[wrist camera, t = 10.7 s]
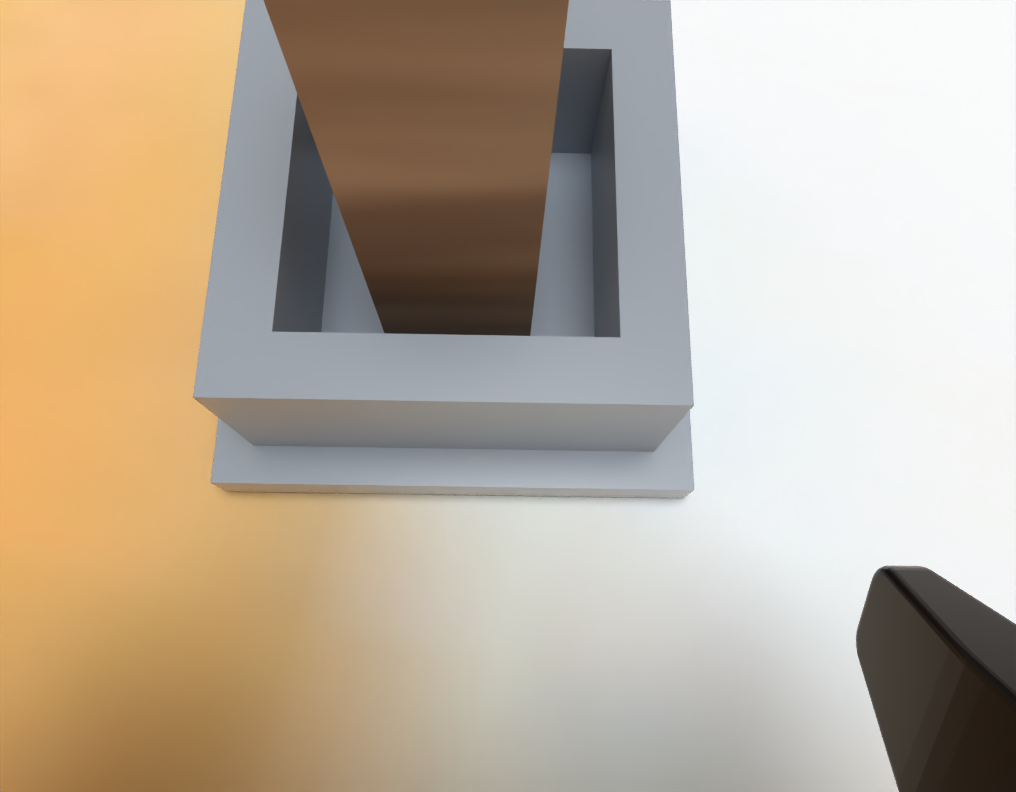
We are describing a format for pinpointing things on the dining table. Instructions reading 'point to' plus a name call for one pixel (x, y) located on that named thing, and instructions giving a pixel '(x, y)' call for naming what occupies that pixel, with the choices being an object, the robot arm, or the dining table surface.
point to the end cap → (459, 358)
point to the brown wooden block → (434, 147)
